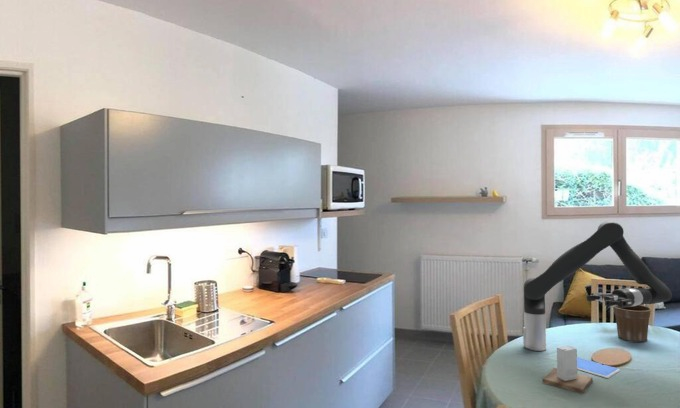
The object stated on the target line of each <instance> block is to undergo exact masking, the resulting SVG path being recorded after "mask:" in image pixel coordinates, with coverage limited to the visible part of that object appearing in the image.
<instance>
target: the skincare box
mask: <svg viewBox="0 0 680 408" xmlns="http://www.w3.org/2000/svg"><path fill="white" fill-rule="evenodd" d="M577 357H578V349H577V348H576V347H573V346H570V345H563V346H557V347H556V368H557V377H559V378H560V379H562V380H564V381H568V380H574V379H577V373H578V369H577Z"/></svg>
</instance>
